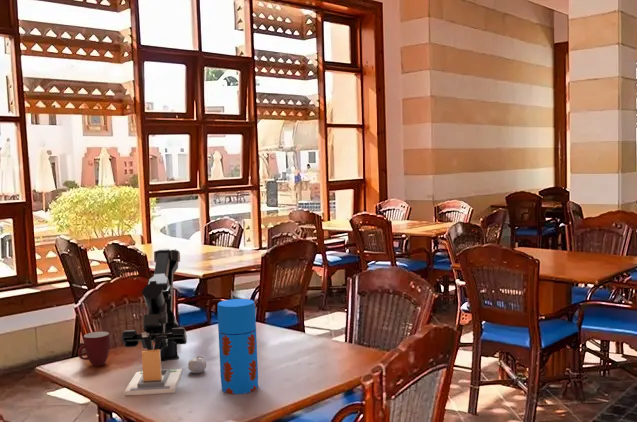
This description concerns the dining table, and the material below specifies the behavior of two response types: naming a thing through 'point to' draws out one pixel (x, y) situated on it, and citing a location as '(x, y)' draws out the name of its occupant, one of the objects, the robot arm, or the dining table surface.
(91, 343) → the mug
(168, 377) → the panel
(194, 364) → the garlic
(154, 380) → the orange upright block
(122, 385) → the dining table surface
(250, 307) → the thermos
